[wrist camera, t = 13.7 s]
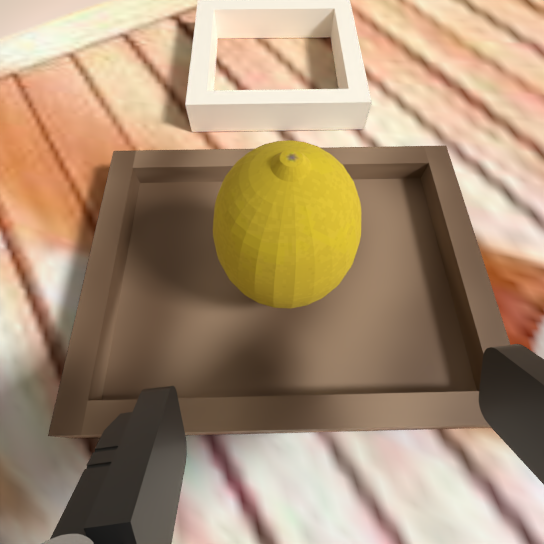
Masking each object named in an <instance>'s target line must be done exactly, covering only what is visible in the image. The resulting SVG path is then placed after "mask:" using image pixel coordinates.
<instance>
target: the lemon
mask: <svg viewBox="0 0 544 544" xmlns="http://www.w3.org/2000/svg"><path fill="white" fill-rule="evenodd" d="M213 238H214V243H215V247H216V252H217V256H218V259H219V262H220V264H221V265H222V267H223V269H224V271H225V273H226V274H227V276H228V278H229V279H230V281H231V282H232V283H233V284H234V285H235V286H236V287H237V288H238V289H239V290H240V291H241V292H242V293H243V294H244V295H246V296H247V297H249V298H251V299H252V300H254V301H256V302H258V303H260V304H264V305H267V306H270V307H274V308H290V309H291V308H296V307H301V306H307V305H309V304H311V303H313V302H315V301H318V300H320V299H322V298H323V297H325V296H326V295H327V294H328V293H330V292H331V291H332V290H333V289H334V288H336V287H337V286H338V285H339V284H340V282H341V281H342V279H343V278H344V276H345V275H346V273H347V272H348V271H349V269H350V268H351V266H352V264H353V261H354V258H355V255H356V252H357V249H358V246H359V243H360V238H361V204H360V200H359V196H358V193H357V190H356V187H355V184H354V181H353V180H352V178H351V177H350V175H349V174H348V172H347V171H346V169H345V167H344V166H343V165H342V164H341V163H340V162H339V161H338V160H337V159H336V158H335V157H334V156H332V155H331V154H330V153H328V152H326V151H324V150H323V149H321V148H319V147H317V146H314V145H311V144H308V143H305V142H298V141H277V142H273V143H269V144H265V145H262V146H260V147H258V148H256V149H254V150H252V151H250V152H248V153H247V154H246V155H245V156H243V157H242V158H241V159H239V160H238V161H237V162H236V163H235V165H234V166H233V167H232V168H231V170H230V171H229V172H228V174H227V175H226V176H225V178H224V180H223V182H222V185H221V187H220V190H219V193H218V195H217V198H216V202H215V207H214V220H213Z"/></svg>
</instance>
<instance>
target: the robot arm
mask: <svg viewBox="0 0 544 544" xmlns="http://www.w3.org/2000/svg"><path fill="white" fill-rule="evenodd" d="M479 406H480V410H481V413H482V415H483V417H484V419H485V420H486V422H487V423H488V424H489V425H490V426H491V428H492V429H493V430H494V431H495V432H496V433H497V434H498V435H499V436H500V437H501V438H502V439H503V441H504V442H505V443H506V444H507V445H508V446H509V447H510V448H511V449H512V450H513V451H514V453H515V454H516V455H517V456H518V457H519V458H520V459H521V460H522V461H523V462H524V463H525V464H526V466H527V467H528V468H529V469H530V470H531V471H532V472H533V473H534V474H535V475H536V476H537V478H538V479H539V480H540V481H541V482H542V483H543V484H544V359H542V358H541V357H539V356H538V355H536V354H535V353H533V352H532V351H530V350H529V349H527V348H526V347H524V346H523V345H520V344H514V345H506V346H498V347H490V348H487V349H486V350H485V351H484V354H483V360H482V369H481V379H480V388H479ZM185 463H186V436H185V431H184V426H183V421H182V416H181V411H180V406H179V401H178V396H177V391H176V389H175V387H174V386H166V387H158V388H150V389H143V390H142V391H141V393H140V395H139V398H138V400H137V402H136V405H135V407H134V410H133V412H128V413H121V414H120V415H119V416H118V417H117V418H116V419H115V420H114V421H113V422H112V423H111V424H110V425H109V426H108V427H107V428H106V429H105V430H104V431H103V433H102V435H101V437H100V439H99V441H98V443H97V446H96V448H95V452H94V453H93V454H92V456H91V458H90V460H89V462H88V464H87V469H85V470H84V472H83V474H82V476H81V478H80V480H79V482H78V484H77V486H76V488H75V490H74V492H73V494H72V496H71V498H70V500H69V502H68V504H67V506H66V508H65V510H64V512H63V514H62V516H61V518H60V520H59V522H58V524H57V526H56V528H55V530H54V532H53V535H52V536H51V538H50V540H48V541H45V542H44V543H42V544H171V542H172V537H173V531H174V525H175V520H176V514H177V508H178V503H179V497H180V492H181V486H182V480H183V475H184V469H185Z"/></svg>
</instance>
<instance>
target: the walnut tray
mask: <svg viewBox="0 0 544 544" xmlns="http://www.w3.org/2000/svg"><path fill="white" fill-rule="evenodd" d="M321 149H323V150H324V151H326V152H328V153H330V154H331V155H332V156H334V157H335V158H336V159H337V160H338V161H339V162H340V163H341V164H342V165H343V166H344V167H345V169H346V171H347V172H348V174H349V175H350V177H351V178H352V180H353V181H354V184H355V187H356V190H357V193H358V196H359V200H360V204H361V238H360V243H359V246H358V249H357V252H356V255H355V258H354V261H353V264H352V266H351V268H350V269H349V271H348V272H347V273H346V275H345V276H344V278H343V279H342V281H341V282H340V284H339V285H338V286H337V287H336V288H334V289H333V290H332V291H331V292H330V293H328V294H327V295H326V296H325V297H323V298H322V299H320V300H318V301H315V302H313V303H311V304H309V305H307V306H301V307H296V308H291V309H290V308H274V307H270V306H267V305H264V304H260V303H258V302H256V301H254V300H252V299H251V298H249V297H247V296H246V295H244V294H243V293H242V292H241V291H240V290H239V289H238V288H237V287H236V286H235V285H234V284H233V283H232V282H231V281H230V279H229V278H228V276H227V274H226V273H225V271H224V269H223V267H222V265H221V264H220V262H219V259H218V256H217V252H216V247H215V243H214V238H213V220H214V207H215V202H216V198H217V195H218V193H219V190H220V187H221V185H222V182H223V180H224V178H225V176H226V175H227V174H228V172H229V171H230V170H231V168H232V167H233V166H234V165H235V163H236V162H237V161H238V160H239V159H241V158H242V157H243V156H245V155H246V154H247V153H248V152H250V151H252V150H254V149H210V150H146V151H114V152H113V156H112V160H111V165H110V169H109V173H108V178H107V182H106V186H105V191H104V195H103V199H102V204H101V208H100V212H99V217H98V221H97V225H96V230H95V234H94V238H93V243H92V247H91V251H90V256H89V260H88V264H87V269H86V273H85V277H84V282H83V286H82V290H81V295H80V299H79V303H78V308H77V312H76V317H75V321H74V325H73V330H72V334H71V338H70V343H69V347H68V351H67V356H66V360H65V364H64V369H63V373H62V377H61V382H60V386H59V390H58V395H57V399H56V403H55V408H54V412H53V416H52V421H51V425H50V429H49V434H48V436H55V437H66V438H100V437H101V435H102V433H103V431H104V430H105V429H106V428H107V427H108V426H109V425H110V424H111V423H112V422H113V421H114V420H115V419H116V418H117V417H118V416H119V415H120V414H121V413H128V412H133V410H134V407H135V405H136V402H137V400H138V398H139V395H140V393H141V391H142V390H143V389H150V388H158V387H166V386H174V387H175V389H176V391H177V396H178V401H179V406H180V411H181V416H182V421H183V426H184V431H185V435H222V434H261V433H300V432H339V431H378V430H417V429H457V428H491V426H490V425H489V424H488V423H487V422H486V420H485V419H484V417H483V415H482V413H481V410H480V406H479V388H480V379H481V369H482V360H483V354H484V351H485V350H486V349H487V348H490V347H498V346H506V345H510V342H509V339H508V336H507V333H506V330H505V327H504V324H503V321H502V318H501V314H500V311H499V308H498V305H497V302H496V299H495V296H494V293H493V290H492V287H491V283H490V280H489V277H488V274H487V271H486V268H485V265H484V262H483V259H482V256H481V252H480V249H479V246H478V243H477V240H476V237H475V234H474V231H473V228H472V225H471V221H470V218H469V215H468V212H467V209H466V206H465V203H464V200H463V197H462V193H461V190H460V187H459V184H458V181H457V178H456V175H455V172H454V169H453V166H452V162H451V159H450V156H449V153H448V150H447V147H446V146H403V147H339V148H321Z"/></svg>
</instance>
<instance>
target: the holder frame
mask: <svg viewBox="0 0 544 544" xmlns="http://www.w3.org/2000/svg"><path fill="white" fill-rule="evenodd" d="M318 37H330V38H331V44H332V50H333V57H334V63H335V69H336V76H337V82H338V88H339V89H294V90H220V91H214V82H215V68H216V54H217V40H218V39H233V38H318ZM371 103H372V102H371V97H370V92H369V88H368V83H367V78H366V74H365V69H364V64H363V59H362V55H361V50H360V45H359V41H358V36H357V31H356V27H355V22H354V17H353V13H352V8H351V3H350V0H198V4H197V12H196V20H195V29H194V37H193V45H192V53H191V62H190V70H189V78H188V86H187V95H186V103H185V106H186V110H187V114H188V118H189V122H190V126H191V130H192V132H220V131H287V130H354V129H364V127H365V124H366V120H367V117H368V113H369V110H370V106H371Z"/></svg>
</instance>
